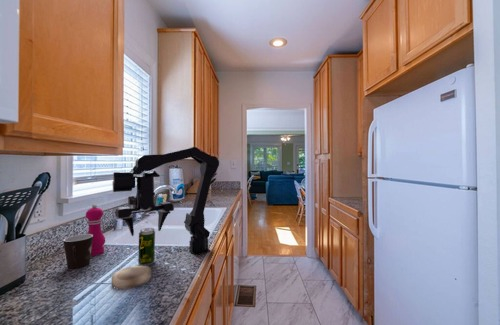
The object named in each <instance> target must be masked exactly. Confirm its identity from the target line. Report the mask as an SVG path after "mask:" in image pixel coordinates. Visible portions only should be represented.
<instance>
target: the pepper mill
mask: <svg viewBox="0 0 500 325" xmlns="http://www.w3.org/2000/svg"><path fill="white" fill-rule="evenodd" d="M103 217H104V211H103V209H102V208H100V207H98V204H96V203H94V204H92V205H91V208H89V209H88V210H87V211H86V212H85V218H86V219H87V222H86V224H87V225H88V232H87V234H92V235H93V240H92V248H91V256H90V257H92V256H97V255H101V254H103V253H104V252H105V246H104V245H105V243H106V237H105V235H104V233H103V232H102V228H101V225H102V224H101V223H103V219H102V218H103Z"/></svg>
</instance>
